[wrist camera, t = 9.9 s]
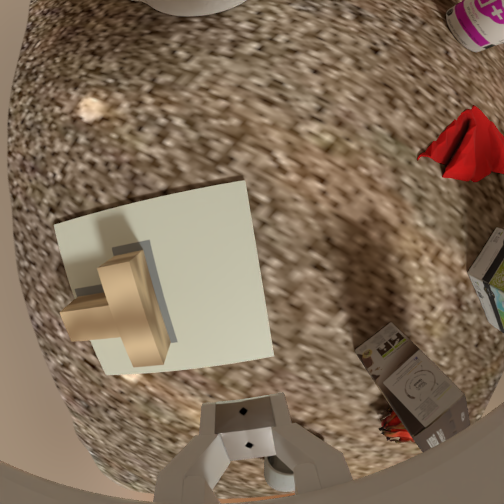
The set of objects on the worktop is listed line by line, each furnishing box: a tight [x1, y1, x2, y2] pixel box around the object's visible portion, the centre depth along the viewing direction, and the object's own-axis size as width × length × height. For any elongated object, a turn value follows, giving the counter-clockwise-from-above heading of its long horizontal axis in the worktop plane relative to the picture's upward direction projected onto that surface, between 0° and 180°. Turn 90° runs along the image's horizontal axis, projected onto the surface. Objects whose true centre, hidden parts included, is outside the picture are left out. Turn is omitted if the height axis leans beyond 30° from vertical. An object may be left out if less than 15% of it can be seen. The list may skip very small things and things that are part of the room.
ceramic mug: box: [264, 455, 295, 492], centre depth 34 cm, size 11×8×8 cm
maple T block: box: [60, 250, 171, 367], centre depth 27 cm, size 11×10×4 cm
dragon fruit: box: [379, 407, 415, 443], centre depth 35 cm, size 8×8×12 cm
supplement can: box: [446, 0, 504, 52], centre depth 16 cm, size 8×8×15 cm
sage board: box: [54, 180, 274, 375], centre depth 29 cm, size 20×22×1 cm
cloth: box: [417, 105, 504, 182], centre depth 28 cm, size 26×14×2 cm, turn 87°
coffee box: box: [355, 322, 470, 452], centre depth 27 cm, size 9×6×16 cm
